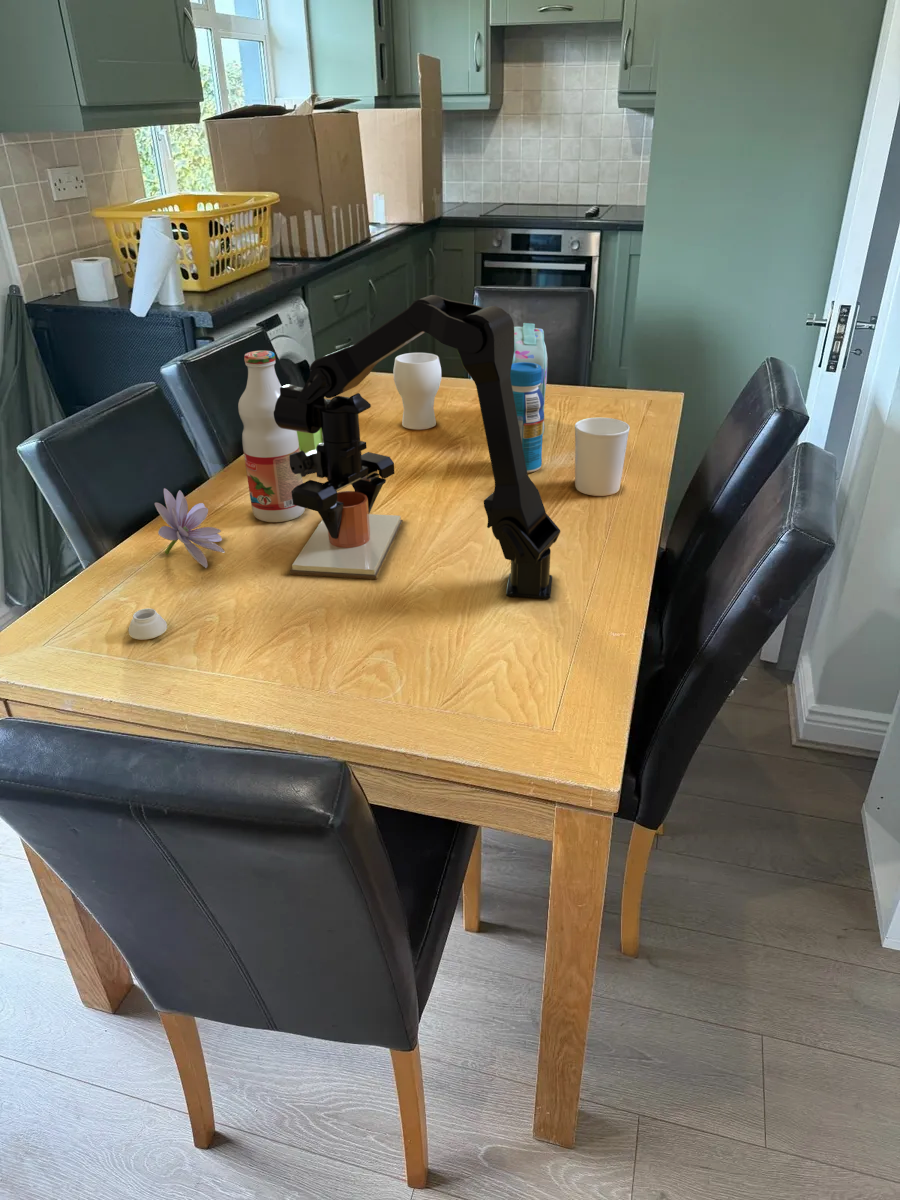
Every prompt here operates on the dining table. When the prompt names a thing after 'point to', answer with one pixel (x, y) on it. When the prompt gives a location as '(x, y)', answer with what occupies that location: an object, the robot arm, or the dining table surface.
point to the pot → (352, 520)
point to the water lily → (187, 526)
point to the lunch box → (531, 350)
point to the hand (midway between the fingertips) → (349, 529)
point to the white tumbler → (600, 455)
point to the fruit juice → (267, 443)
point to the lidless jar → (146, 624)
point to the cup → (417, 388)
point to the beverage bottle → (529, 410)
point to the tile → (349, 552)
